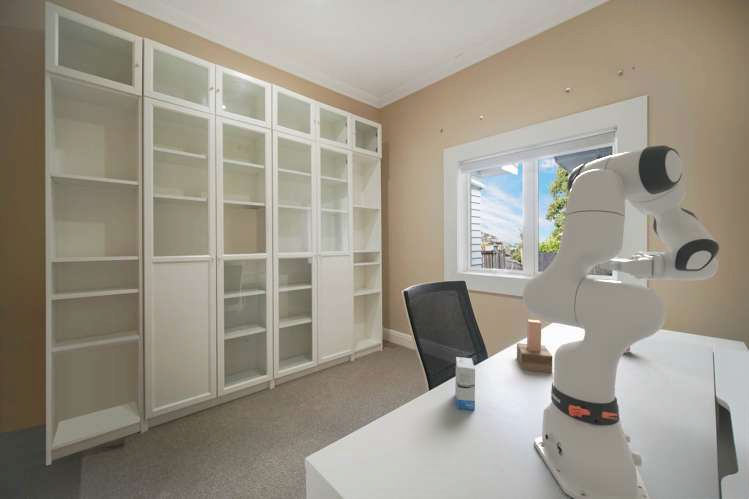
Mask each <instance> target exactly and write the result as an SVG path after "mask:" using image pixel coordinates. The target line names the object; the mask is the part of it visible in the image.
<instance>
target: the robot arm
mask: <svg viewBox="0 0 749 499" xmlns="http://www.w3.org/2000/svg"><path fill="white" fill-rule="evenodd" d="M682 174H683V162H682V159H681V156H680V155H679V152H678V151H677V150H676V149H675V148H673V147H670V146H668V145H665V144H664V145H663V144H662V145H652V146H647V147H644V148H639V149H635V150H630V151H626V152H622V153H614V154H611V155H608V156H607V155H606V156H605V157H602V158H599V159H595V160H593V161H591V162H584V163H582V164H580V165H579V166H577V167H575V168H573V169H572V171H571V172H570V173H569V175H568V177H567V182H566V187H567V191H568V198H567V201H566V206H565V212H564V219H563V227H562V228H563V229H562V233H561V234H562V235H561V239H560V244H559V247H558V251H557V253H556V255H555V256H554V258H553V260H552V261H551V262H550V263H549V265H548V266H547V267H546V268H545V269H544V270H543V271H542V272H541V273H539V274H537V275H536V276H534V277H532V278H530V280H528V282H527V283H526V284H525V286H524V288H523V292H522V301H523V305H524V307H525V309H526V311H527V313H528V314H530V315H532V316H534V317H536V318H539V319H541V320H544V321H547V322H550V323H554V324H559V325H563V326H564V325H565V326H569V327H570V326H571V327H575V328H579V329H583V330H584V335H583V336H584V337H583V339H582V340H575V341H571V342H567V343H565V344H562V345H560V346H559V347H558V348H557V349H556V351H555V353H554V357H553V358H554V360H553V362H554V363H553V364H554V365H553V382H552V383H551V388H550V394H551V395H550V399H551V402H550V404H549V405H548V406H546V407H545V408H544V409H543V417H542V418H543V419H542V427H541V428H542V430H541V436H539V437H536V438H534V441H533V444H534V447H535V448H536V451H537V452H538V453H539V455H540V456H541V458H542V460H543V461H544V463H545V464H546V466H547V468H548V469H549V471H550V473H551V474H552V475H553V477H554V479H555V480H556V482H557V483H558V484H559V487H560V488H561V489H562V492H563V493H565V495H567V496H568V497H571V498H573V499H652V498H651V496H650V494H649V491H648V490H647V487H646V485H645V483H644V480H643V478H642V476H641V473H640V472H639V469H638V467H642V464H643V462H642V456H641V454H640V453H639V452H637V451H634V450H631V449H630V446H629V443H631V436H630V435H629V434H625V431H624V429H623V426H622V421H621V420H620V408H619V407H620V406H619V404H618V399H617V396H616V393H615V392H616V380H617V379H616V377H617V373H618V371H617V370H618V366H619V363H620V360H621V357H622V356H623V354H624V352H625V351H626V350H627V349H628V348H629V347H630V348H631V346H633V345H634V344H636V343H637V342H639V341H642V340H644V339H646V338H649V337H652V336H653V335H655V334H656V333H658V332H659V331H660V330H661V329H662V327H663V325H664V324H665V322H666V317H667V309H666V305H665V303H664V300H663V298H662V297H661V296H660V295H659V294H658V292H657V291H656V290H655V289H653V288H651V287H648V286H644V285H641V284H637V283H632V282H628V281H622V280H609V279H598V278H588V274H589V273H590V271H592V270H593V268H595V267H597V268H599V269H603V270H608V271H613V272H614V271H615V272H621V273H623V274H624V273H625V274H629V275H630V276H634V278H636V279H637V280H643V281H644V280H645V281H646V280H647V281H649V280H650V281H659V280H660V281H661V280H670V281H677V282H678V281H679V282H693V281H694V282H695V281H703V280H708V279H711V278H712V277H713V276H715V275H716V274H717V272H718V270H719V261H718V259H717V258H716V256H717V255H718V253H719V251H720V245H719V243H718V242H717V240H716V239H715V238H714V237H713V235H712V234H710V232H708V230H707V229H706V228H705V227H704V225H703V224H702V223H701V222H700V221H699V219H698V217H697V216H696V215H695V214H694V213H693V212H692V211H690V210H687V209H685V208H684V207H683V208H682V207H681V206H680V204H681V203H682V202H683V201H684V200H685V199H686V196H687V194H686V189H685V185H684V183H683V180H682ZM626 200H627V201H628V202H629V203H630V204H631V205H632V206H633V207H634V208H635V209H636V210H638V211H639V212H640V213H642V214H643V215H652V217H653V224H652V228H653V231H654V233H655V234H656V235H657V236H658V237H659V239H660V240H661V242H662V243H663V244H664V246H665V247H666V249H665V251H663V252H660V251H637V252H635V253H634V254H633V255H630V256H629V257H628V258H618V257H617V256H619V254H620V253H621V251H622V249H623V240H624V229H625V228H624V227H625V218H626V216H625V215H626Z"/></svg>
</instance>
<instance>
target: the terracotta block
mask: <svg viewBox="0 0 749 499" xmlns="http://www.w3.org/2000/svg"><path fill="white" fill-rule="evenodd" d="M526 326H527V328H526V331H527V332H526V333H527V335H526V344H527V348H528V350H529V351H538V352H541V346H542V322H541V321H540V320H539V319H527V324H526Z"/></svg>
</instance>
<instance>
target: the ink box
mask: <svg viewBox="0 0 749 499" xmlns="http://www.w3.org/2000/svg"><path fill="white" fill-rule="evenodd" d="M454 390H455V391H454V393H455V394H454V396H455V401H456V407H457V409H459V410H460V409H461V410H470V411H475V409H476V406H475V405H476V367H475V365H474V361H473V358H470V357H469V358H468V357H461V356H456V357H455V389H454Z"/></svg>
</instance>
